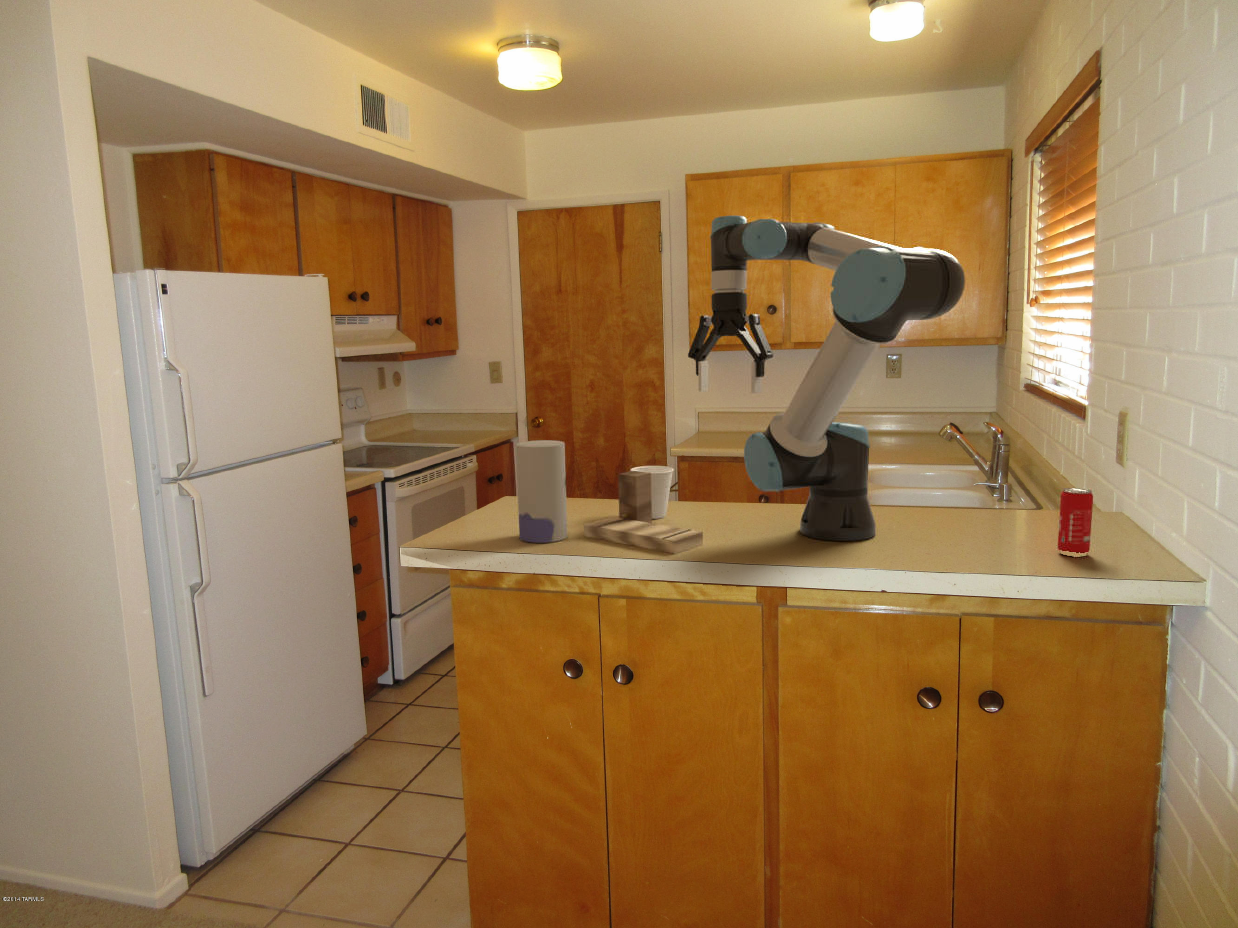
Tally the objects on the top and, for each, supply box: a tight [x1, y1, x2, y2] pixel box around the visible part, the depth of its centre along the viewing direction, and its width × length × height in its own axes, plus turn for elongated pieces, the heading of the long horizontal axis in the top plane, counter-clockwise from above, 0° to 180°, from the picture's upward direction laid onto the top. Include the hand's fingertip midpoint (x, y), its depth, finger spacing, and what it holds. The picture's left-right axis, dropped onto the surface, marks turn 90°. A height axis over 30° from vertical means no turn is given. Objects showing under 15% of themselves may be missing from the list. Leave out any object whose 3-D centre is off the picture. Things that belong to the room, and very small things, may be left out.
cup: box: [629, 465, 675, 520], centre depth 195 cm, size 10×10×11 cm
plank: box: [583, 516, 704, 555], centre depth 174 cm, size 24×9×3 cm, turn 49°
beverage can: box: [1057, 487, 1094, 553], centre depth 156 cm, size 5×5×12 cm
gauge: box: [617, 471, 653, 523], centre depth 183 cm, size 5×6×12 cm
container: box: [515, 439, 568, 544], centre depth 176 cm, size 10×10×20 cm
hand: (729, 392), depth 185 cm, fingers open, 13 cm apart
